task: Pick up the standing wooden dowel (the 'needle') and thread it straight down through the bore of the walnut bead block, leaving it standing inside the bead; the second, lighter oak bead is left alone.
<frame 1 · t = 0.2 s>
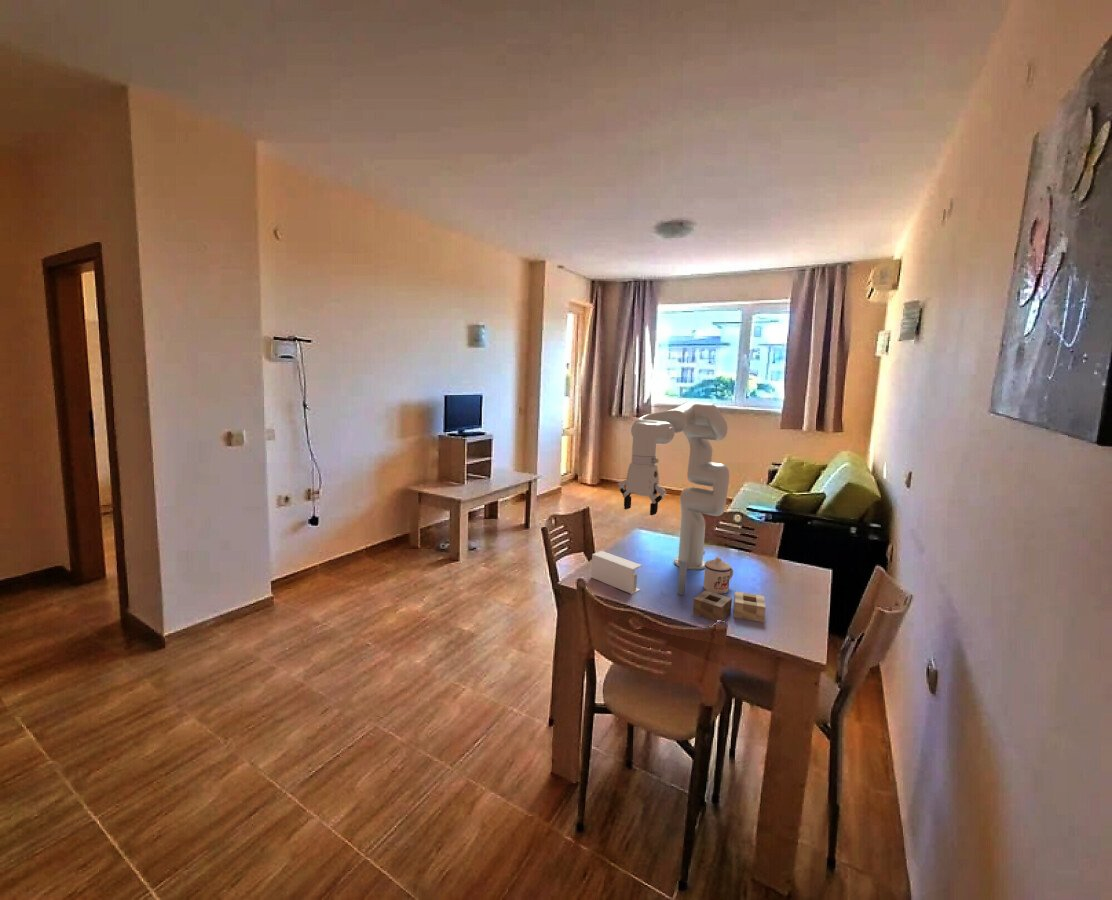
hand: (640, 511, 169), 31 cm above the table, fingers open, 9 cm apart
teacup with lid: (718, 588, 185), on the table
needle dowel: (681, 593, 179), on the table
bead oak: (748, 613, 166), on the table
bead walnut: (711, 613, 165), on the table
white channel beam: (614, 584, 186), on the table
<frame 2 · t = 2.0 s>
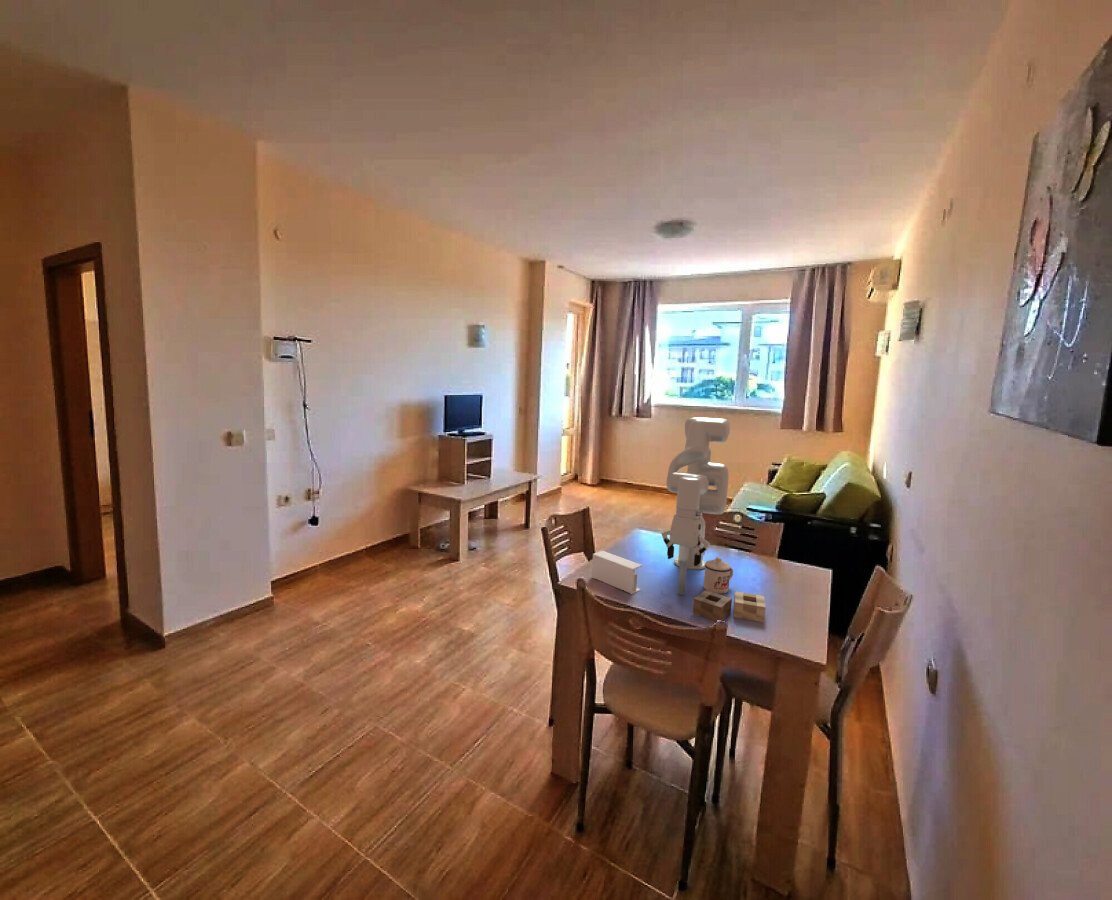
hand: (683, 561, 177), 12 cm above the table, fingers open, 9 cm apart
nothing on the table moved.
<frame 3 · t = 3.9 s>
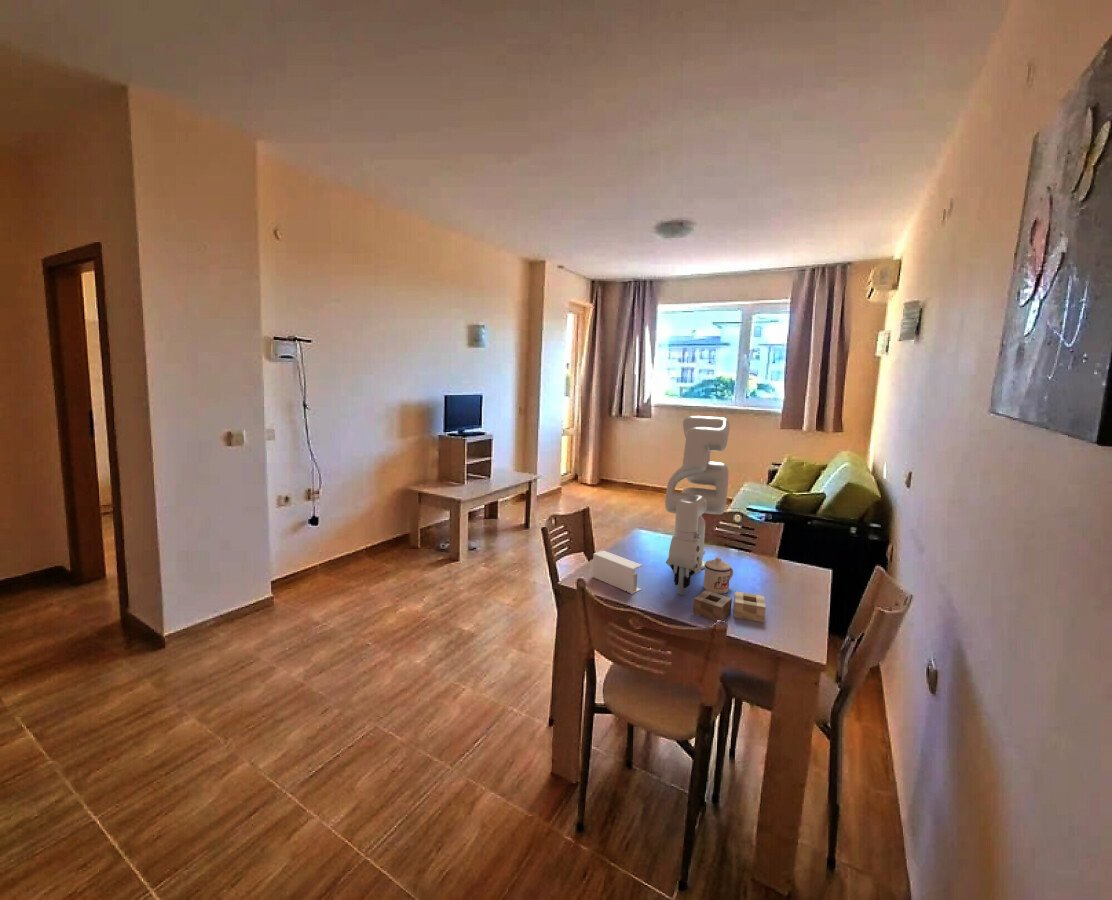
hand: (681, 585, 179), 3 cm above the table, fingers closed on needle dowel, 2 cm apart
needle dowel: (681, 593, 179), on the table, touching gripper
everything else where it was.
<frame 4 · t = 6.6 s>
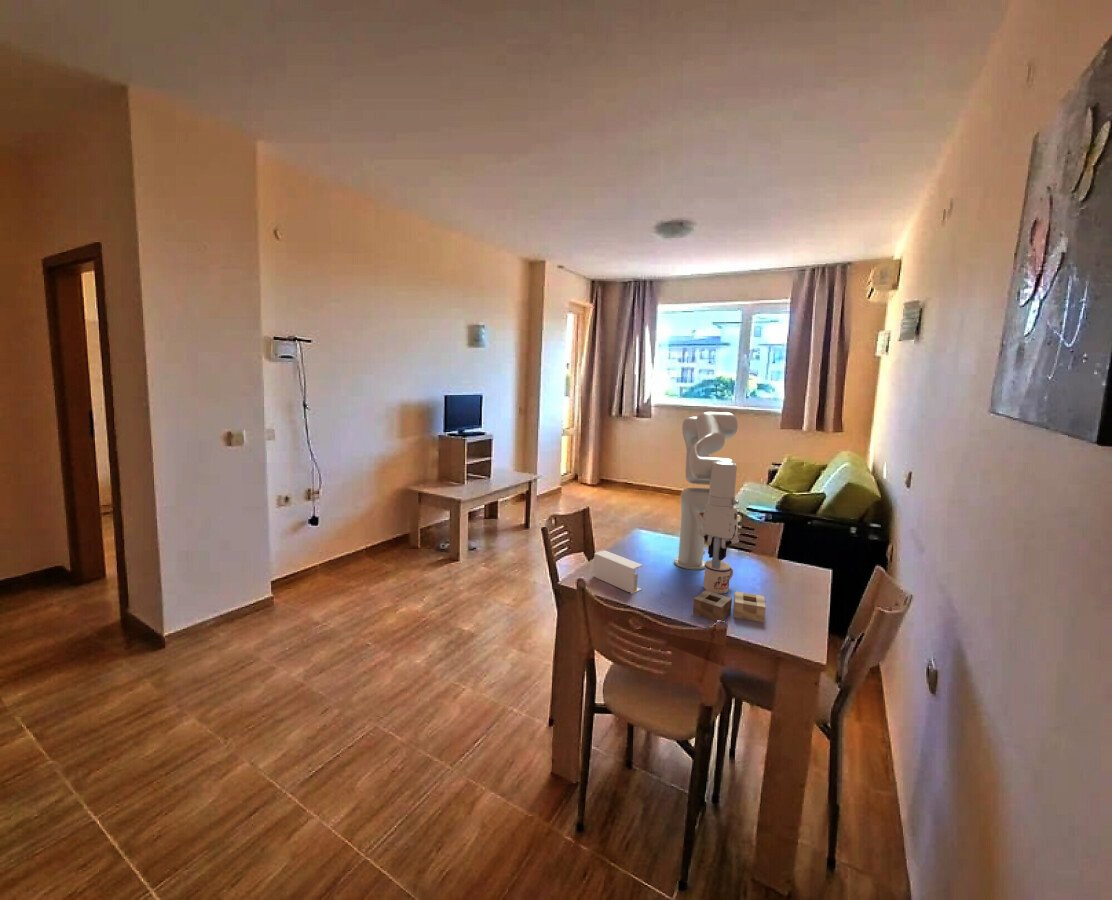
hand: (716, 557, 162), 19 cm above the table, fingers closed on needle dowel, 2 cm apart
needle dowel: (715, 567, 163), point 16 cm above the table, touching gripper
everything else where it was.
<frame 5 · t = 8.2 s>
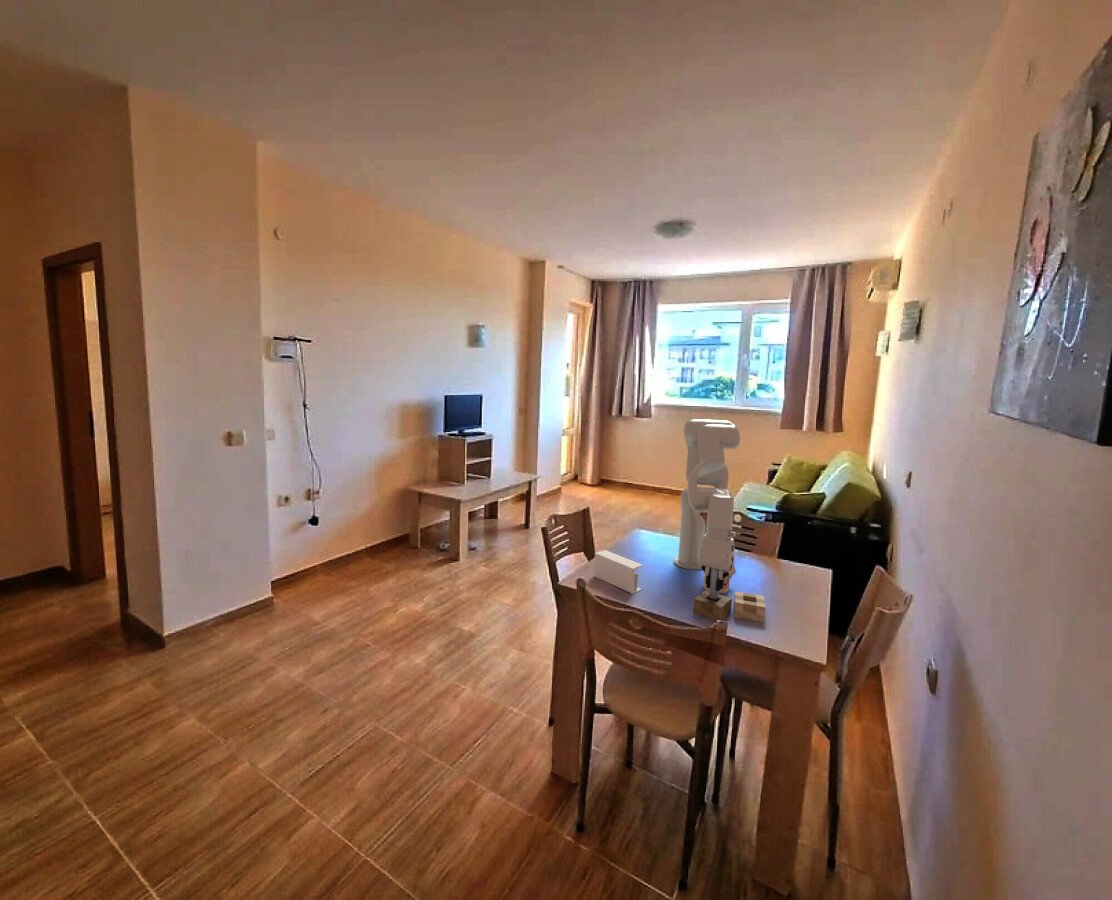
hand: (714, 588, 164), 9 cm above the table, fingers closed on needle dowel, 2 cm apart
needle dowel: (713, 597, 164), point 5 cm above the table, touching gripper
when the fingers open (6 cm above the table, at t = 9.3 s): needle dowel drops 3 cm, resting in bead walnut.
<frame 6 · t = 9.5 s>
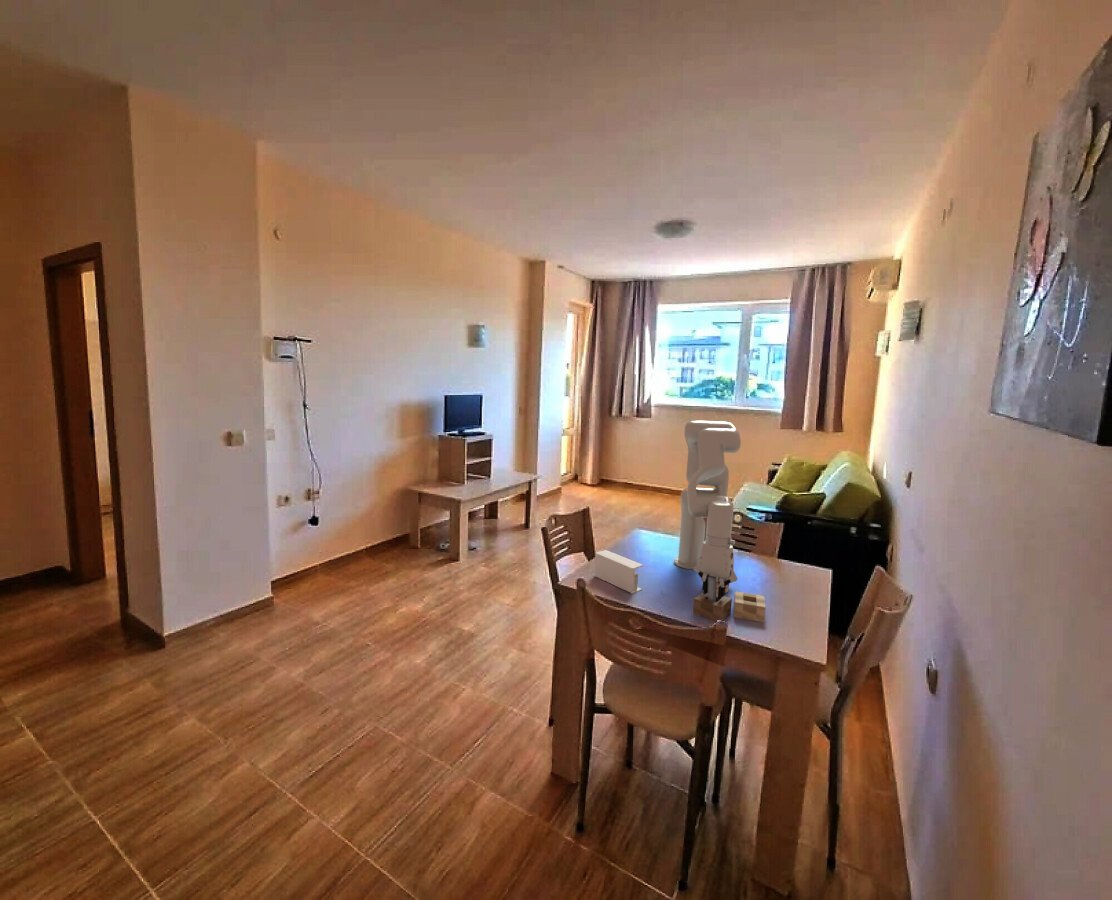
hand: (713, 594, 164), 6 cm above the table, fingers open, 4 cm apart
needle dowel: (711, 612, 165), resting in bead walnut, touching gripper
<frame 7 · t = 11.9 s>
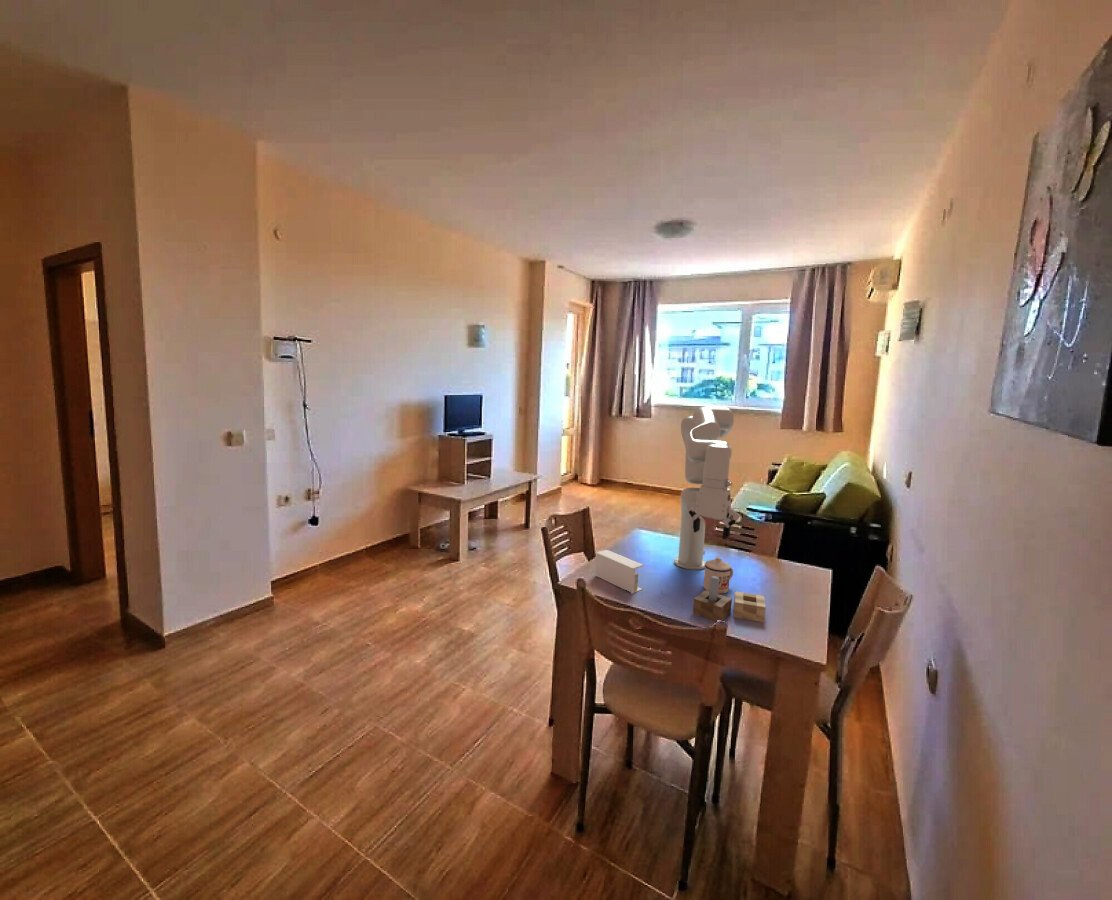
hand: (710, 534, 166), 25 cm above the table, fingers open, 9 cm apart
needle dowel: (711, 613, 165), resting in bead walnut
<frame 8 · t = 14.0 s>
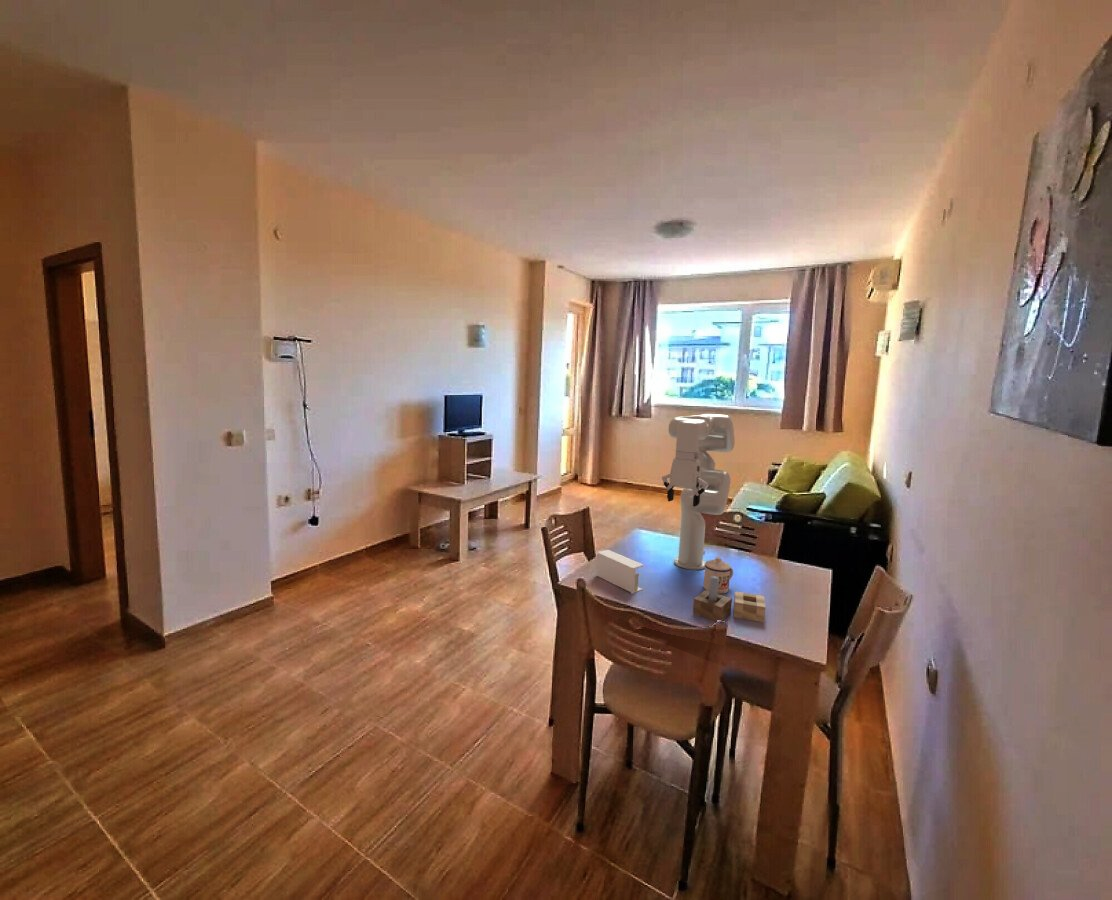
hand: (682, 503, 183), 30 cm above the table, fingers open, 9 cm apart
at the end: needle dowel 0.1 cm off-centre on the bead walnut, point 0.0 cm above the bead walnut's base; needle dowel tilted 0°; the gripper is holding nothing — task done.
